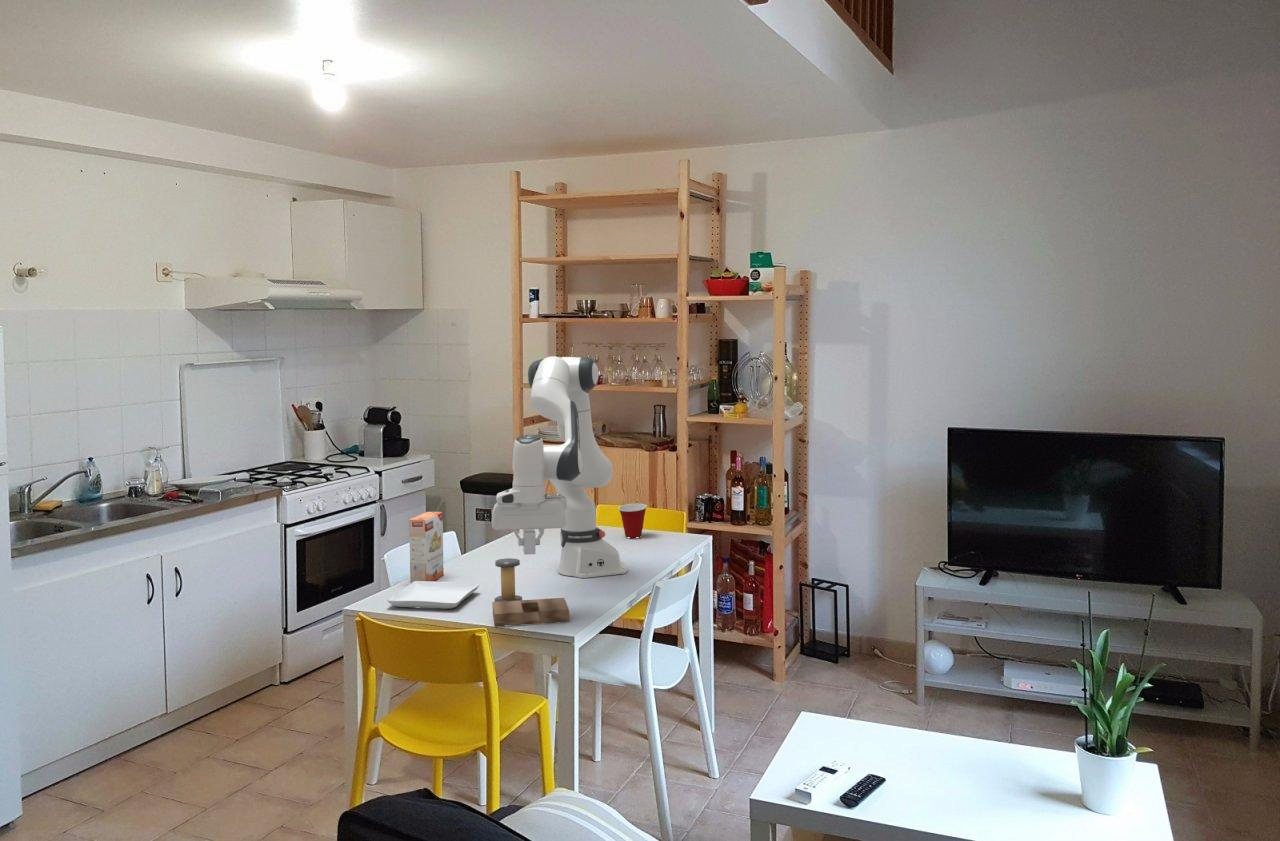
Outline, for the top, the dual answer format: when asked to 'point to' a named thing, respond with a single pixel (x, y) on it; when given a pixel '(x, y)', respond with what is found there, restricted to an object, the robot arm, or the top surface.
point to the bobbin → (507, 579)
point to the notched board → (530, 611)
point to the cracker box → (426, 546)
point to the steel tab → (529, 541)
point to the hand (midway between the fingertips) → (529, 545)
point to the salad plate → (432, 594)
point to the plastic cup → (633, 519)
